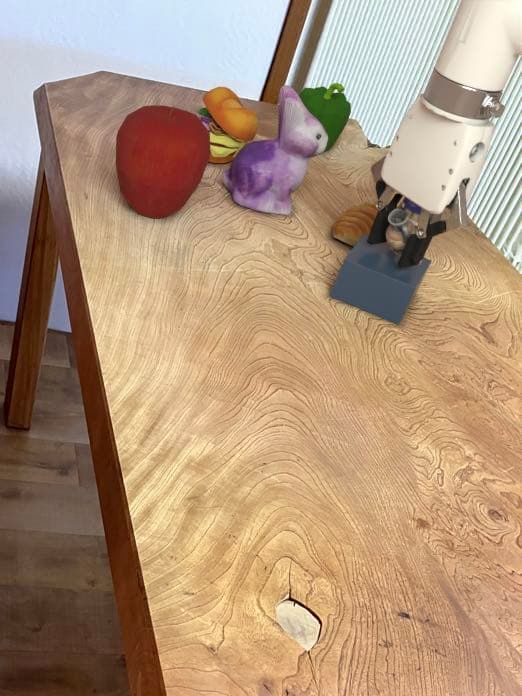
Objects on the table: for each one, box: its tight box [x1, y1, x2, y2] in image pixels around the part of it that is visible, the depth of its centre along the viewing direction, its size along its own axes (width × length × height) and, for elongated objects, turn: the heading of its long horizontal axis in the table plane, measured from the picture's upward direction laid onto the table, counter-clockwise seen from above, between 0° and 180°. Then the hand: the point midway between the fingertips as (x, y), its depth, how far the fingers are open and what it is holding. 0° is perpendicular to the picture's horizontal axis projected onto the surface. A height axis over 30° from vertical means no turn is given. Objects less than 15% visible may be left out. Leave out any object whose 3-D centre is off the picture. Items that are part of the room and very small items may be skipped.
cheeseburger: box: [191, 86, 259, 164], centre depth 132 cm, size 10×11×10 cm
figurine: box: [221, 84, 328, 216], centre depth 120 cm, size 9×10×15 cm
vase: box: [386, 207, 422, 264], centre depth 106 cm, size 5×5×6 cm
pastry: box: [331, 201, 378, 247], centre depth 121 cm, size 9×7×4 cm
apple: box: [115, 104, 211, 219], centre depth 112 cm, size 12×12×13 cm
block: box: [329, 234, 433, 325], centre depth 110 cm, size 9×9×5 cm
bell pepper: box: [298, 82, 352, 152], centre depth 141 cm, size 8×8×10 cm
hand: (392, 252), depth 107 cm, fingers closed on vase, 4 cm apart
